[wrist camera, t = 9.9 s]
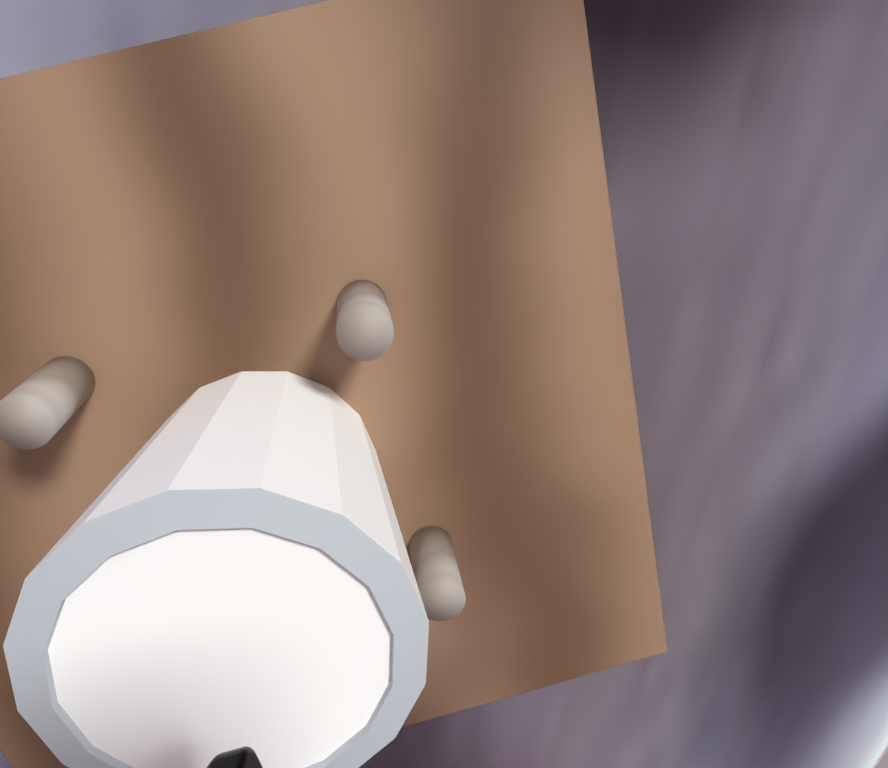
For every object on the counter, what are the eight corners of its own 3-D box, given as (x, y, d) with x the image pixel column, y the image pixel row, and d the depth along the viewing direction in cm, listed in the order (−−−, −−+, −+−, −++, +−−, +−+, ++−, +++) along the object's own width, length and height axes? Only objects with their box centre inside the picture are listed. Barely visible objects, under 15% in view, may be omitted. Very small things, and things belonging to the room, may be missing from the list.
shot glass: (451, 435, 18) (511, 610, 12) (309, 617, 20) (293, 862, 13) (219, 290, 16) (134, 407, 9) (79, 507, 17) (-77, 736, 11)
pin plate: (561, -48, 15) (620, -93, 12) (654, 630, 23) (705, 713, 20) (-344, 168, 14) (-542, 183, 11) (65, 798, 22) (18, 914, 19)
